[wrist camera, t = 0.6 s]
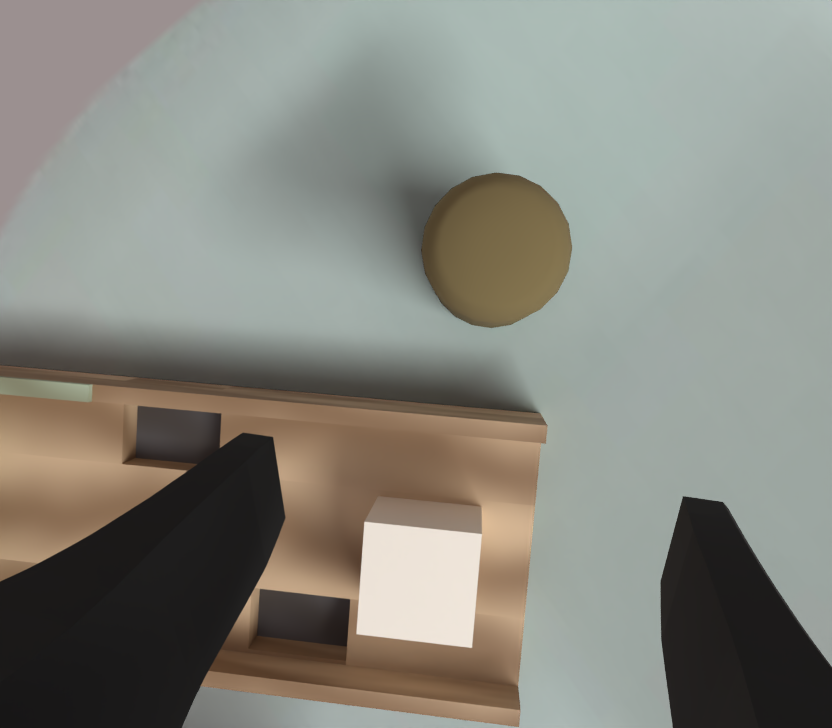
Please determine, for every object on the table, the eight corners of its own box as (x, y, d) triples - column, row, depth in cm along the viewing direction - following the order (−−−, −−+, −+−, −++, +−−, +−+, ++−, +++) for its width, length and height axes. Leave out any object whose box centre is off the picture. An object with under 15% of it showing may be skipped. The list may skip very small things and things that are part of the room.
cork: (404, 252, 34) (368, 226, 23) (505, 176, 33) (518, 111, 22) (477, 352, 34) (476, 373, 23) (579, 278, 33) (629, 263, 22)
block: (473, 607, 33) (472, 647, 29) (370, 595, 34) (356, 634, 30) (481, 506, 33) (482, 534, 29) (378, 496, 33) (364, 521, 29)
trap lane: (514, 685, 35) (519, 730, 31) (-21, 619, 37) (-77, 654, 34) (540, 413, 34) (548, 426, 30) (-16, 363, 36) (-73, 370, 32)
